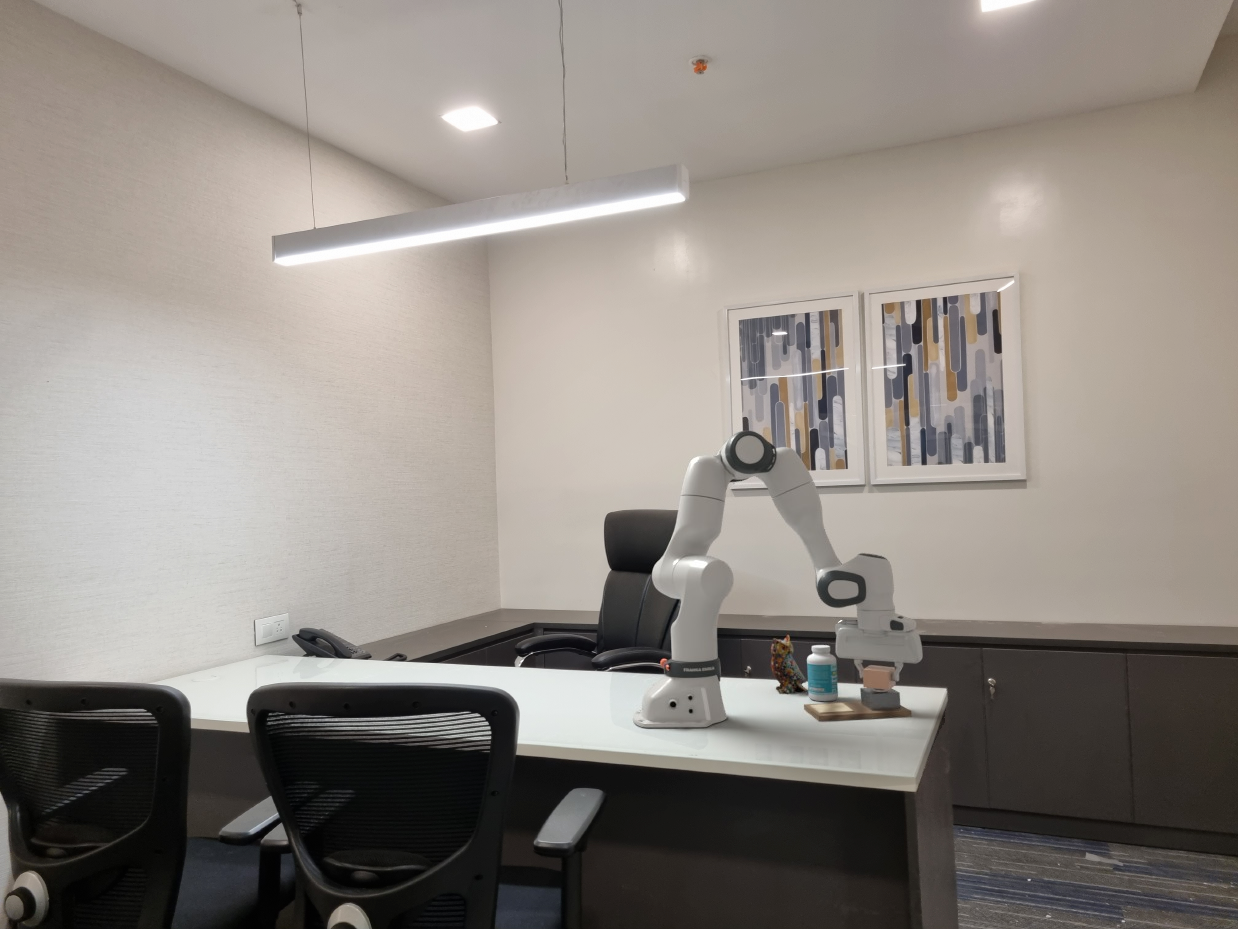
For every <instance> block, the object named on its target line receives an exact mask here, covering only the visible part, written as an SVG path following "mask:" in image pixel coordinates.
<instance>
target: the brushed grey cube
mask: <svg viewBox="0 0 1238 929" xmlns="http://www.w3.org/2000/svg"><path fill="white" fill-rule="evenodd" d="M859 689H860V701H861V704H862V705H864V706H865V707H867V708H869V709H870V710H889V709H901V707H900V705H901V694H900V691H897V690H896V689H894V688H893V687H892V688H891V689H890V690H885V689H876V688H867V687H860V688H859Z"/></svg>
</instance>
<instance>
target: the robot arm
mask: <svg viewBox="0 0 1238 929" xmlns="http://www.w3.org/2000/svg"><path fill="white" fill-rule="evenodd" d="M806 466H807V465H806V464H805V463H804V462H803V460H802V458H801V457H800V456H799V454H798V453H797V451H796V450H795V449H793V448H792V447H788V446H787V447H786V446H780V447H776V446H775V445H774V444H772V443H771V442H770V441H768V440H767V439H766V438H764V437H763V436H762V435H761V434H760V433H758V432H756V431H753V430H742V431H738V432H736V433H734V434H733V435H732V436H731V437H729V438H728V439H727V440H725V442H724V443H723V445H722V446H721V447H720V449H719V450H717V453H715V455H710V454H709V455H708V454H704V455H698V456H696V457H694V458H692V459H691V460H690V462H689V464H688V465H687V469H686V472H685V473H684V477H683V478H684V479H683V482H682V487H681V491H680V497H679V504H678V509H677V516H676V521H675V525H674V529H673V532H672V535H671V539H670V541H669V542H668V545H667V547H666V550H665V551H664V553H663V555H662V556H661V557H660V559H659V560H658V561H657V562H656V563H655V564H654V566H653V568H652V572H651V578H652V579H651V580H652V584H653V586H654V587H655V589H656V590H657V591H658V592H659V593H661V594H662V595H664V596H667V597H669V598H671V599H675V600H680V606H679V611H678V615H677V617H676V618H675V621H673V622H672V624H671V626H670V640H671V641H670V642H671V644H670V645H671V658H670V659H666V658H662V659H661V660H660V666H661V667H662V668H663V674H664V675H662V677H660V678H659V679H658V680H657V681H656V682H654V683H653V684H652V685H651V686H650V687H648V689H646V691H645V692H644V694H643V697H642V703H641V710H639V709H638V710H637V711H635V712H634V713H633V715H632V720H633V723H634V724H635V725H636V726H638V727H641V728H707V727H709V726H711V725H713V724H717V723H720V722H723V721H725V720H726V719H727V718H728V715H727V712H726V709H725V705H724V702H723V696H722V690H721V683H720V682H721V677H722V671H721V661H720V658H719V657H718V656H719V655H718V621H719V616H720V612H721V608H722V605H723V602H724V600H725V599H726V598H727V597H728V595H729V594H730V593H731V592H732V589H733V586H734V580H735V579H734V572H733V571H732V568H731V566H730V565H729V564H728V563H726V562H725V561H724V560H721V559H719V558H717V557H714V556H710V555H707V553H708V552H709V551H710V547H711V546H712V544H713V543H714V541H716V539H718V538H719V536H720V534H721V533H722V532H721V531H722V526H723V518H724V511H725V510H724V509H725V505H726V504H725V503H726V496H727V489H728V486H729V484H730V483H738V482H743V481H745V480H746V481H747V480H748V479H750V478H752V477H755V478H758V479H759V480H760V481H762V482H763V484H764V485H765V487H767V490H768V492H769V494H770V497H771V499H772V502H773V504H774V506H775V508H776V509H777V511H778V513H779V514H780V516H781V518H782V520H784V521H785V523H786V524H787V525H788V526H789V527H790V528H792V530H793V532H795V533H796V534H797V535H798V536H799V538H800V540H801V541H802V543H803V545H804V548H805V550H806V552H807V554H808V556H809V559H810V561H811V563H812V566H813V569H814V571H815V589H816V592H817V595H818V597H819V599H820V600H821V602H822V603H824V604H825V605H826V606H828V607H830V608H834V609H843V608H846V607H850V606H855V607H856V618H857V619H849V620H848V619H841V620H840V621H837V622H836V624H835V625H834V626H835V627H834V630H835V636H836V637H835V638H836V639H835V655H836V656H837V657H838V658H839V659H849V660H850V659H851V660H852V659H853V662H854V663H853V664H854V666H855V667H856V668H857V670H858V671H859V672H858V673H859V678H860V679H863V669H864V668H865V667H864V666H863V664H862V663H864V662H863V661H864V660H865V661H877V662H889V663H891V662H893V663H894V667H895V672H892V673H891V681H895V682H899V681H900V673H901V670H902V668H903V667H904V663H907V664H918V663H919V662H921V661H922V659H923V645H922V641H921V636H920V634H919V632H918V631H917V630H915V629H916V628H917V621H916V620H915V619H913V618H910V617H907V616H904V615H902V614H899V613H896V606H895V603H894V592H895V587H894V586H895V585H894V583H895V582H894V576H893V574H894V573H893V569H892V565H891V562H890V560H889V559H888V558H886V557H885V556H884V555H883V556H882V555H878V554H873V553H866V552H862V553H858V554H857V555H856V556H854V557H853V558H852V559H850V560H848V561H845V562H844V563H842V561H840V559H839V558H838V556H837V554H836V552H835V550H834V547H833V546H832V544H831V541H830V538H829V537H828V534H827V532H826V529H825V526H824V518H823V506H822V502H821V501H822V500H821V498H820V495H819V491H818V489H817V486H816V483H815V481H814V479H813V477H812V475H811V474H810V472H809V469H808V468H807V467H806Z"/></svg>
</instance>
